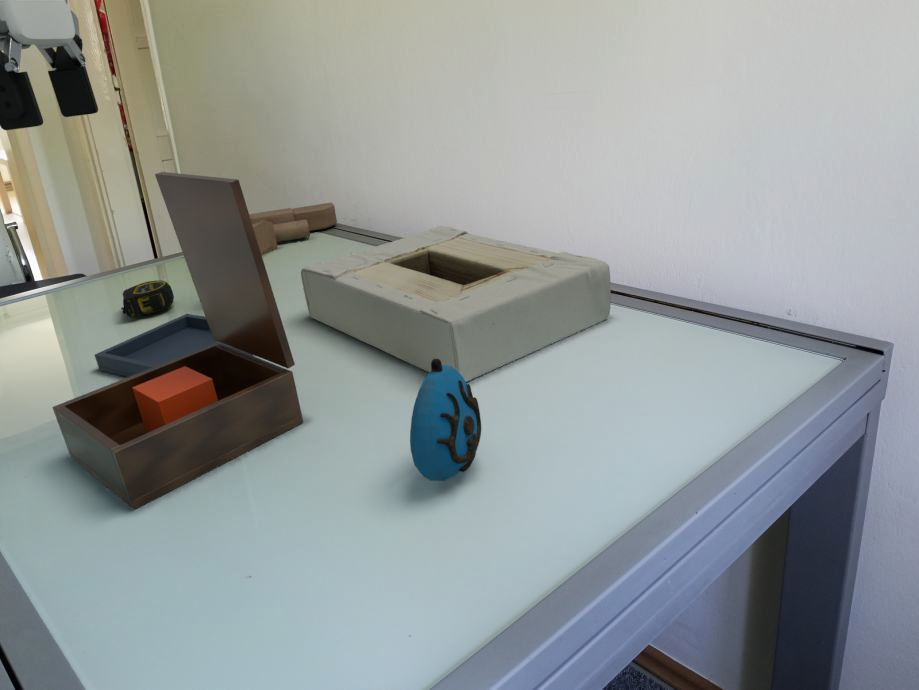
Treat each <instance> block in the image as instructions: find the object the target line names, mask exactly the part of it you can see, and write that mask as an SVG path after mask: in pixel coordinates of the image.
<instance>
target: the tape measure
mask: <svg viewBox="0 0 919 690" xmlns="http://www.w3.org/2000/svg"><path fill="white" fill-rule="evenodd" d="M122 297H123V298H122V306H123V307H120V309H121V310H122V313H123V314H124V315H126V316H128V317H129V318H135V317H138V316H141V315H149V314H154V313H158V312H160V311H164V310H165V309H167V308H169V307H170V306H172V305H173V303H174V299H175V296H174V291H173V288H172V286H171V285H170V284H169V283H168V282H167V281H166V280H165V281H164V280H150V281H145V282H142V283H138V284H136V285H134V286H131V287H128V288H126V289H125V290H123V292H122Z"/></svg>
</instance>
